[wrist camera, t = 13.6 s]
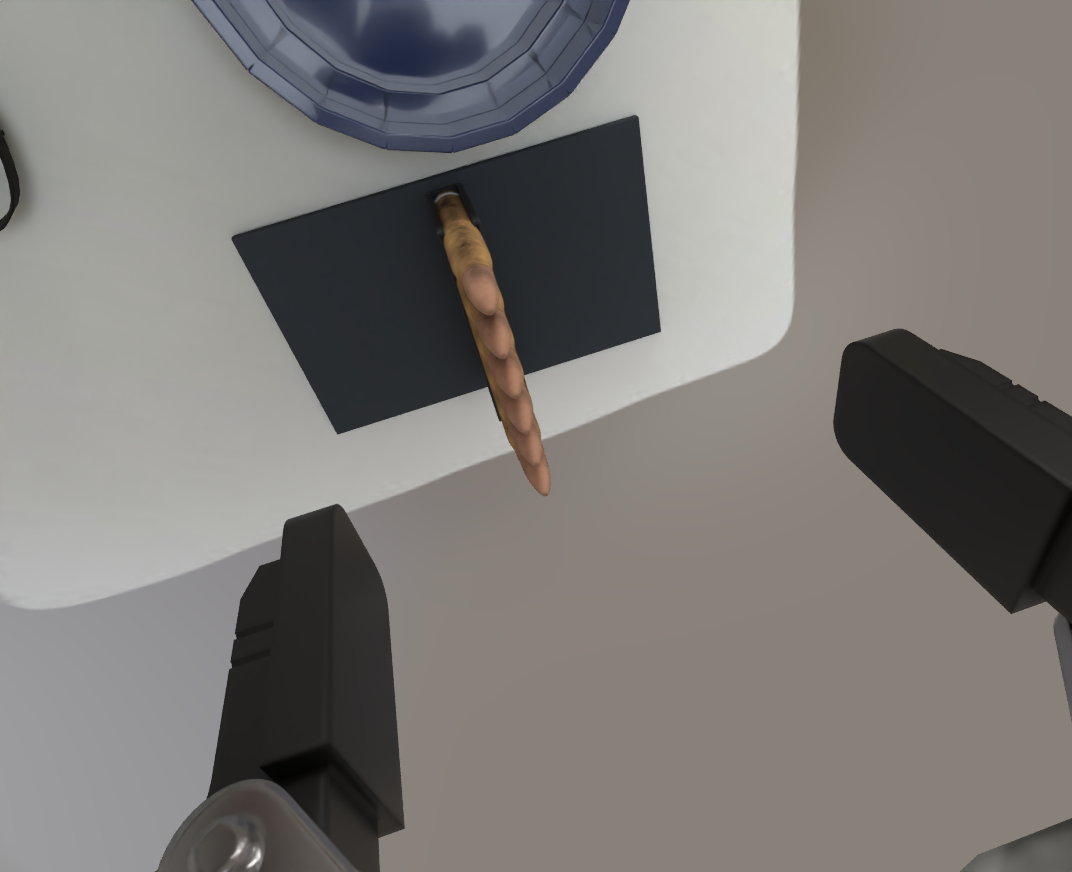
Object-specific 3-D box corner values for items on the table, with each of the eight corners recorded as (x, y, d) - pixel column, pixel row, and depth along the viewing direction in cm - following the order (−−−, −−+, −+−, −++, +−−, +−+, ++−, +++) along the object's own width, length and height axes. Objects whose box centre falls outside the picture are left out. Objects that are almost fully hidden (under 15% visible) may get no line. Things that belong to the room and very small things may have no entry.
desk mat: (337, 431, 37) (337, 434, 36) (232, 235, 29) (230, 238, 29) (658, 328, 38) (661, 332, 37) (635, 114, 30) (638, 116, 30)
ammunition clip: (515, 366, 36) (570, 503, 27) (485, 376, 36) (530, 517, 27) (461, 181, 30) (510, 278, 20) (424, 193, 30) (456, 295, 20)
